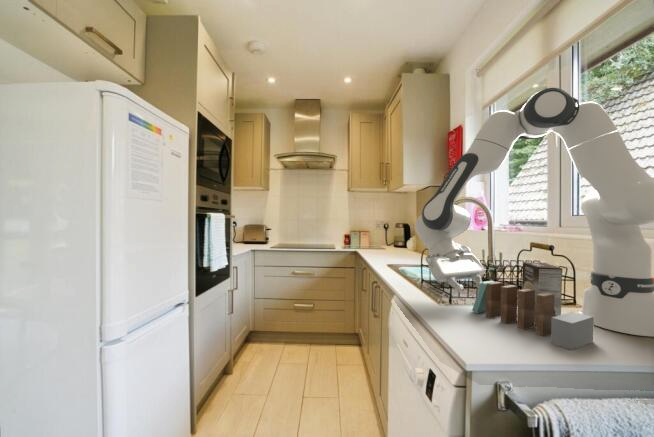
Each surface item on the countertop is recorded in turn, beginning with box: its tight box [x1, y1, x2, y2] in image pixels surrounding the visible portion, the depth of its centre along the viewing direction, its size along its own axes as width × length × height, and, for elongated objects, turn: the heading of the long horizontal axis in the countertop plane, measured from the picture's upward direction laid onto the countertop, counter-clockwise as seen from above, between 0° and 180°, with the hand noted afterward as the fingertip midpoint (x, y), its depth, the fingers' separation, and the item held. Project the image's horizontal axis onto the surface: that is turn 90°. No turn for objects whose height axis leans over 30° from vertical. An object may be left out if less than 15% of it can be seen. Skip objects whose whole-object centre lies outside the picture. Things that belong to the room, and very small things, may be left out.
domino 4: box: [516, 289, 535, 330], centre depth 76 cm, size 2×5×10 cm, turn 116°
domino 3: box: [500, 284, 519, 324], centre depth 80 cm, size 2×5×10 cm, turn 116°
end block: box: [550, 311, 594, 351], centre depth 66 cm, size 10×4×6 cm, turn 116°
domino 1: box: [471, 280, 495, 314], centre depth 86 cm, size 2×5×10 cm, turn 116°
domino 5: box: [535, 293, 555, 337], centre depth 72 cm, size 2×5×10 cm, turn 116°
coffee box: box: [521, 261, 563, 324], centre depth 81 cm, size 9×6×16 cm
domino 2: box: [484, 281, 503, 319], centre depth 84 cm, size 2×5×10 cm, turn 116°
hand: (472, 289), depth 86 cm, fingers open, 8 cm apart
